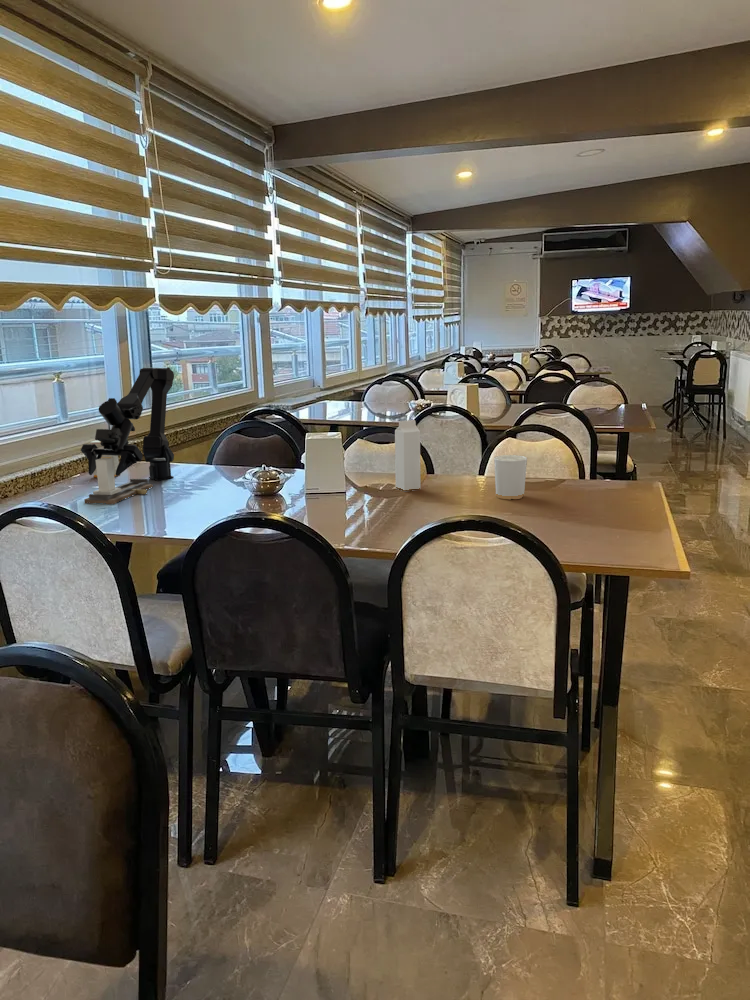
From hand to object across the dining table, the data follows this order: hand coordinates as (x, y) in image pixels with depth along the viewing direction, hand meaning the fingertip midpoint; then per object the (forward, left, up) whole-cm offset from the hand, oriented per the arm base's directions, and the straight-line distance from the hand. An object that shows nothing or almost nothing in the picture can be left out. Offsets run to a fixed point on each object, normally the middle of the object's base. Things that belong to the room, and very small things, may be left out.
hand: (103, 474), depth 235 cm
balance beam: (-7, -4, -8) cm, 12 cm away
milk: (-71, +63, -8) cm, 95 cm away
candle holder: (-81, +95, -8) cm, 125 cm away
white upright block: (-1, -1, -7) cm, 7 cm away
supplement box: (-21, -38, -8) cm, 44 cm away
